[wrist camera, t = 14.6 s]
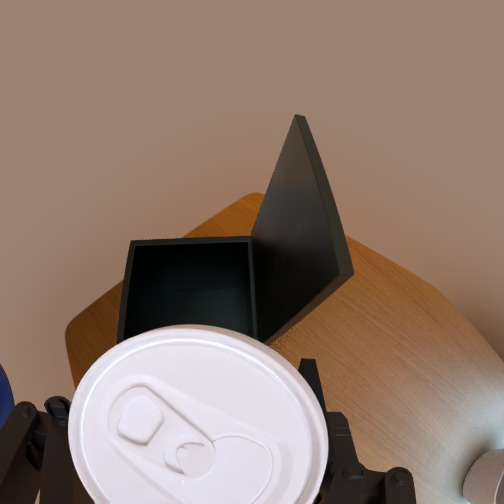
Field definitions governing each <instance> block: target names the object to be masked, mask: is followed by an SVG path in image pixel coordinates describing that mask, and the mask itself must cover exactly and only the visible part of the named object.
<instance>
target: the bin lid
mask: <svg viewBox="0 0 504 504" xmlns="http://www.w3.org/2000/svg"><path fill="white" fill-rule="evenodd" d="M251 238H252V252H253V267H254V282H255V297H256V311H257V326H258V341H259V342H261V343H263V344H265V345H266V346H269V345H270V344H271V343H273V342H274V341H275V340H276V339H278V338H279V337H280V336H282V335H283V334H284V333H285V332H287V331H288V330H289V329H290V328H292V327H293V326H294V325H295V324H297V323H298V322H299V321H300V320H302V319H303V318H304V317H305V316H307V315H308V314H309V313H310V312H311V311H313V310H314V309H315V308H316V307H317V306H319V305H320V304H321V303H322V302H323V301H324V300H326V299H327V298H328V297H329V296H330V295H331V294H333V293H334V292H335V291H336V290H337V289H338V288H339V287H341V286H342V285H343V284H344V283H345V282H346V281H347V280H348V279H349V278H351V277H352V276H353V275H354V269H353V265H352V261H351V257H350V253H349V249H348V245H347V242H346V238H345V234H344V231H343V227H342V224H341V220H340V217H339V213H338V210H337V207H336V203H335V200H334V197H333V194H332V191H331V187H330V184H329V181H328V178H327V175H326V173H325V170H324V166H323V163H322V161H321V158H320V155H319V152H318V149H317V147H316V144H315V142H314V139H313V136H312V133H311V131H310V128H309V126H308V123H307V120H306V118H305V116H301V115H295V116H294V118H293V121H292V124H291V126H290V129H289V132H288V134H287V137H286V140H285V143H284V145H283V148H282V151H281V153H280V156H279V159H278V161H277V164H276V167H275V170H274V172H273V175H272V178H271V181H270V183H269V186H268V189H267V192H266V194H265V197H264V199H263V202H262V205H261V208H260V210H259V213H258V216H257V219H256V221H255V224H254V227H253V230H252V232H251Z"/></svg>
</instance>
